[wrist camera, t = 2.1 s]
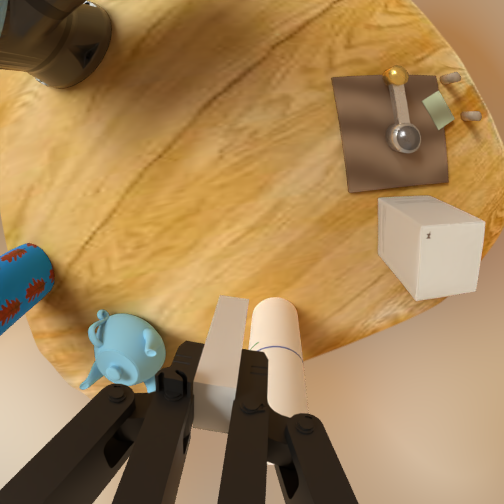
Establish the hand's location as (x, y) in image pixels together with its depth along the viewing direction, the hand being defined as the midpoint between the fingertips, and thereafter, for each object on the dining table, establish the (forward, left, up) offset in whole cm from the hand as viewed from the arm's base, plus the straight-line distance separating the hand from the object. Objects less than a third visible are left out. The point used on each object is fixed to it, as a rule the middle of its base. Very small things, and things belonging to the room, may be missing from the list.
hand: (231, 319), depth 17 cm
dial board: (-8, +23, -30) cm, 39 cm away
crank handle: (-11, +21, -28) cm, 37 cm away
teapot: (+21, -25, -30) cm, 44 cm away
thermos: (+4, -43, -30) cm, 53 cm away
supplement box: (+6, +21, -30) cm, 37 cm away
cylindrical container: (+18, 0, -30) cm, 35 cm away
